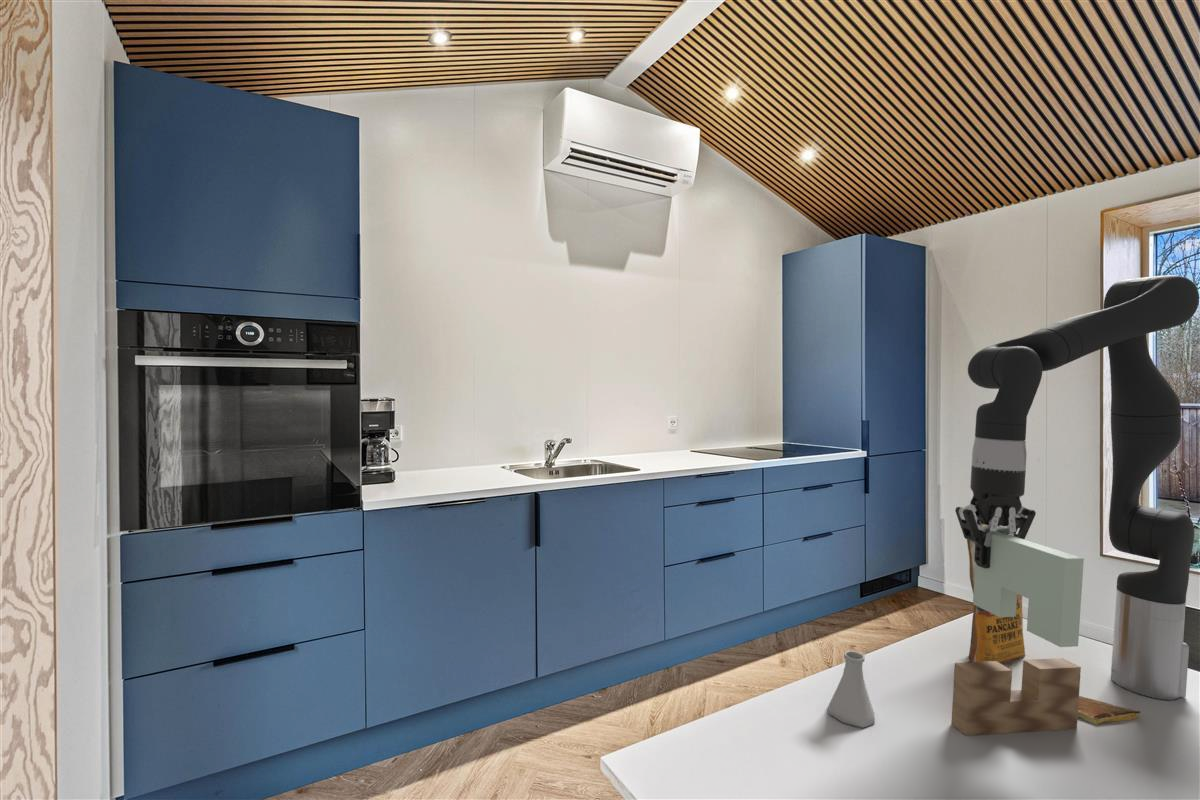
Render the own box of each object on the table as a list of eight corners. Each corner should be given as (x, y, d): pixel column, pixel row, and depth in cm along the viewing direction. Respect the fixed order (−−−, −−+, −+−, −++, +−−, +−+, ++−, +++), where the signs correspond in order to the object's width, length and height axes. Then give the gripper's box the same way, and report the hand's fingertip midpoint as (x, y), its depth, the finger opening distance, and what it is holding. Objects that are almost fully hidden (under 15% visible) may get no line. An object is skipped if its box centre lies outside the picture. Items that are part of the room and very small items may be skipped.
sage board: (1078, 646, 84) (1083, 558, 83) (1060, 647, 83) (1065, 558, 83) (988, 603, 99) (992, 529, 99) (972, 604, 99) (977, 529, 99)
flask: (881, 715, 94) (885, 655, 93) (866, 734, 88) (870, 670, 88) (837, 697, 99) (840, 640, 98) (820, 714, 93) (823, 654, 93)
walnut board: (1059, 717, 95) (1063, 658, 95) (1076, 728, 92) (1080, 667, 92) (951, 724, 92) (954, 662, 92) (965, 735, 89) (969, 672, 89)
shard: (1140, 720, 96) (1141, 710, 96) (1151, 743, 89) (1152, 732, 89) (1058, 698, 102) (1058, 688, 102) (1062, 718, 96) (1063, 708, 96)
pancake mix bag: (946, 655, 116) (954, 518, 115) (1003, 640, 124) (1011, 512, 123) (981, 671, 110) (989, 526, 109) (1038, 654, 118) (1046, 519, 117)
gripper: (979, 468, 92) (973, 575, 92) (1055, 469, 94) (1048, 573, 94) (944, 461, 99) (938, 560, 100) (1015, 462, 101) (1009, 559, 102)
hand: (992, 566), depth 97 cm, fingers closed on sage board, 3 cm apart
